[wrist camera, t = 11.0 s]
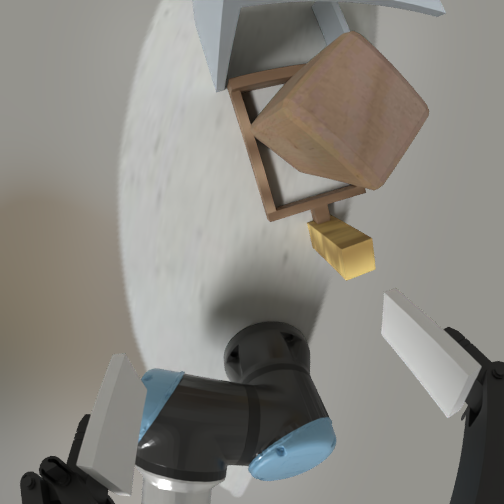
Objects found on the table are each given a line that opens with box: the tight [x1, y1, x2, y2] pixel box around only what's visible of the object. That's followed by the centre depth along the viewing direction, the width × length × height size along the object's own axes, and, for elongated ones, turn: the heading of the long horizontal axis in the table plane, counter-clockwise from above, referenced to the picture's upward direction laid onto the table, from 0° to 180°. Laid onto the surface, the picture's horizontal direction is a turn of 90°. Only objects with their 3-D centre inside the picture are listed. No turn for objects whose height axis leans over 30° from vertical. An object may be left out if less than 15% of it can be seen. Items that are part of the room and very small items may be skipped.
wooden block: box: [250, 31, 429, 190], centre depth 26 cm, size 10×10×20 cm
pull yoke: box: [227, 64, 375, 281], centre depth 32 cm, size 26×15×12 cm, turn 17°
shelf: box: [192, 0, 446, 92], centre depth 19 cm, size 12×19×26 cm, turn 106°
